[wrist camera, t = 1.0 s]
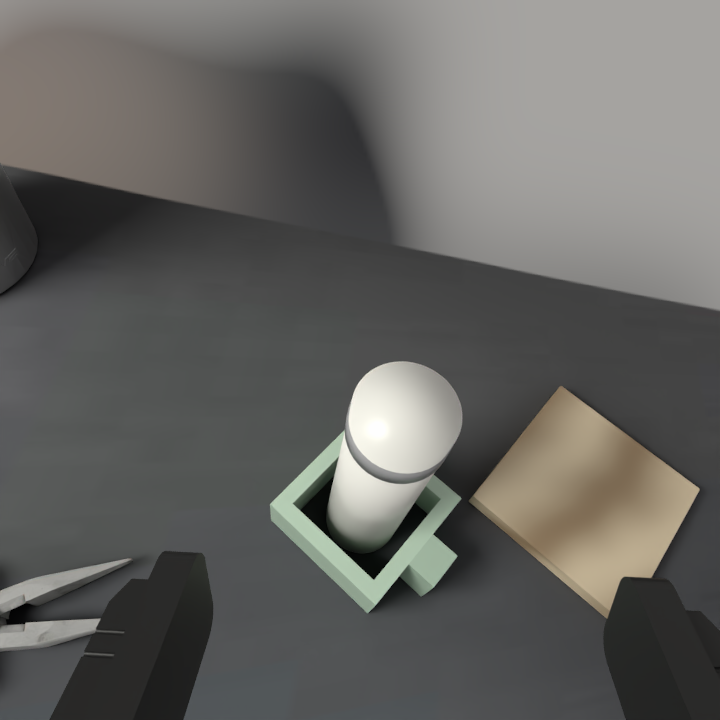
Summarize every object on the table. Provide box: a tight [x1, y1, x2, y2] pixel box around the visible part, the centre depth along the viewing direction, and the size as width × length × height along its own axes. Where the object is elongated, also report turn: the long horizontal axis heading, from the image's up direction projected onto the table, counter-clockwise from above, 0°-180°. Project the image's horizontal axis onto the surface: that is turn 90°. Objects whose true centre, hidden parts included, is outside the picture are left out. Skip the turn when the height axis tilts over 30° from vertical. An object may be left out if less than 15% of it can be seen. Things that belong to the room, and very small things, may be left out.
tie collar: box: [270, 430, 462, 613], centre depth 31 cm, size 9×7×3 cm
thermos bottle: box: [326, 361, 462, 554], centre depth 26 cm, size 4×4×14 cm
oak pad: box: [469, 386, 700, 618], centre depth 34 cm, size 10×10×1 cm
